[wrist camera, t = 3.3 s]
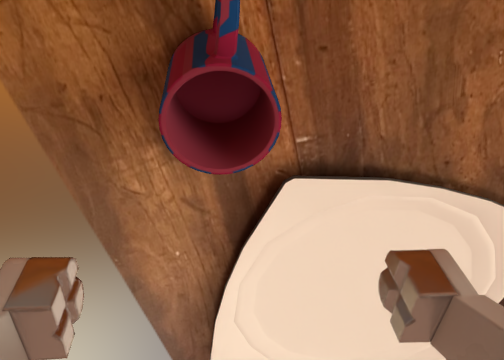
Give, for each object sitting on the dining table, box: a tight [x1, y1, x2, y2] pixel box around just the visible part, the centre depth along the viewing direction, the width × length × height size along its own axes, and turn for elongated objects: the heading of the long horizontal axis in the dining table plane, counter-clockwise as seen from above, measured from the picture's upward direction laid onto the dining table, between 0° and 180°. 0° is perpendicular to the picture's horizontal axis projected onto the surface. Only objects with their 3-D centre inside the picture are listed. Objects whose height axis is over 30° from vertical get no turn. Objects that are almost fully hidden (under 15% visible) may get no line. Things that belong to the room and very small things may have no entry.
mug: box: [159, 0, 282, 174], centre depth 24 cm, size 7×10×7 cm
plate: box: [210, 175, 504, 360], centre depth 41 cm, size 29×29×3 cm
